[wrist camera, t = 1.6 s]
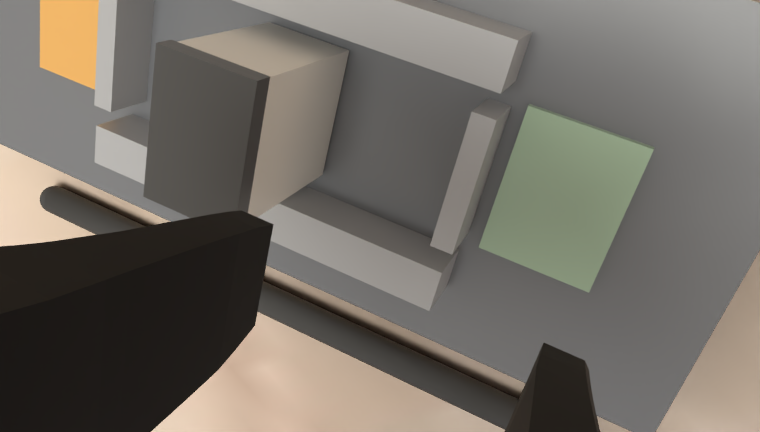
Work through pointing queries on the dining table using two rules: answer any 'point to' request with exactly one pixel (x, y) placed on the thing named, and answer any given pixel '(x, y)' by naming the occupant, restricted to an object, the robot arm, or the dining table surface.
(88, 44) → the breaker panel
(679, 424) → the dining table surface
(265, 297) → the dark grey rod
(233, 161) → the grey and beige block
